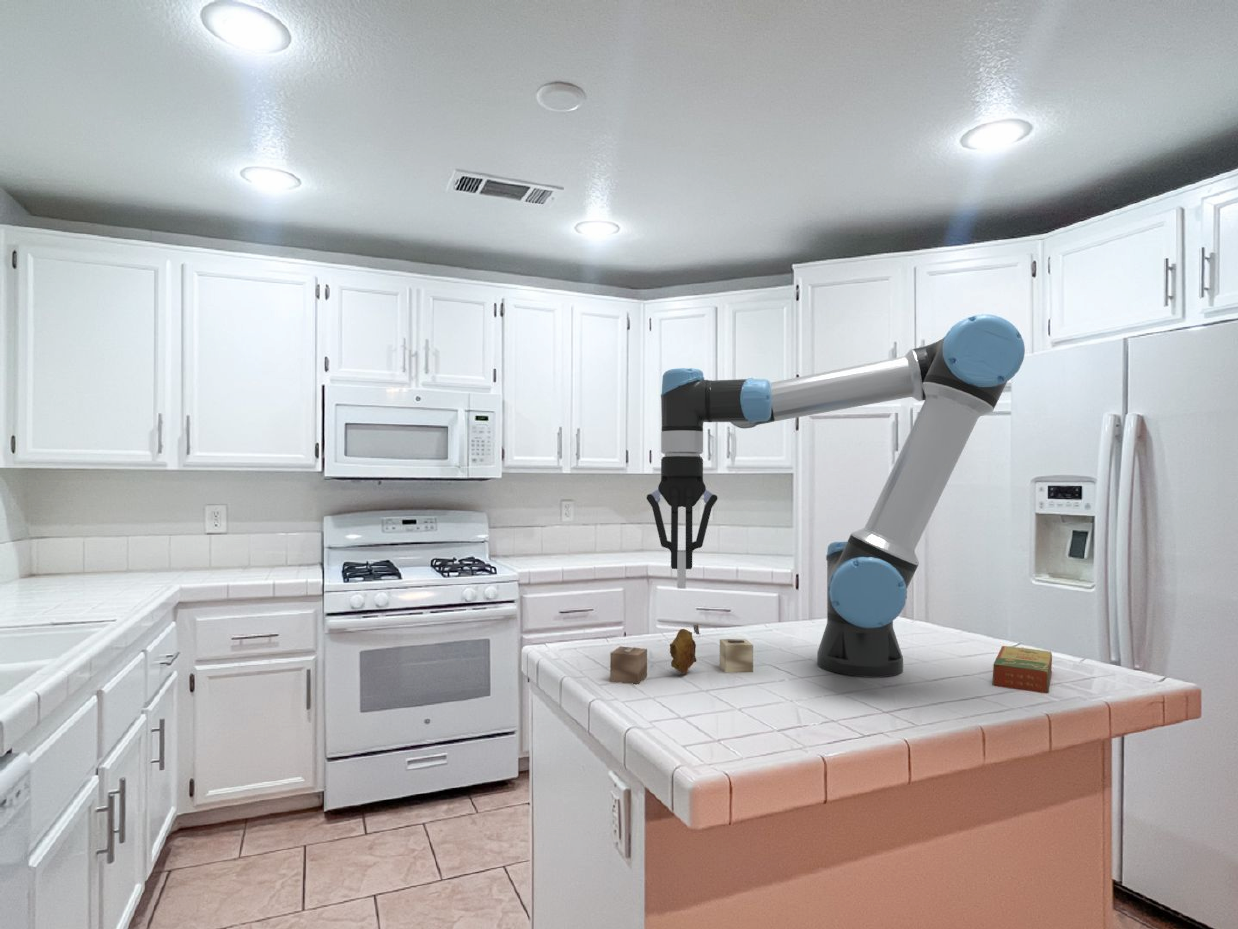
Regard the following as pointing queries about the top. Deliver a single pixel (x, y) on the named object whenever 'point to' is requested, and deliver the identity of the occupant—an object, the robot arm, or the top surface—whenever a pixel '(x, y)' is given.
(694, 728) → the top surface
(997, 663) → the carton
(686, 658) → the rock
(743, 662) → the block maple
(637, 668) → the block walnut
